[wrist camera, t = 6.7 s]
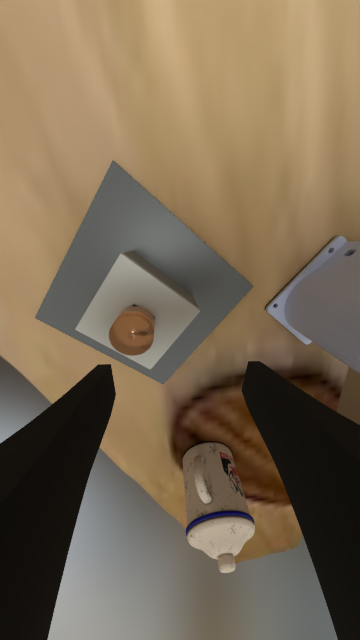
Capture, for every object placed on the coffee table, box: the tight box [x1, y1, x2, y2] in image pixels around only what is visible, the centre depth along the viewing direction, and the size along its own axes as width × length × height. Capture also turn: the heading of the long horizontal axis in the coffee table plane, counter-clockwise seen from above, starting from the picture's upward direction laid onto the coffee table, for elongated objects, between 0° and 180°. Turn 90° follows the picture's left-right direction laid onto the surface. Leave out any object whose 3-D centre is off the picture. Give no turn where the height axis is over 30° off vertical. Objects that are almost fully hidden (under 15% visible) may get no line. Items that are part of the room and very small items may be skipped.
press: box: [35, 161, 253, 384], centre depth 16 cm, size 16×16×5 cm
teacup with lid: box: [183, 442, 255, 573], centre depth 24 cm, size 12×9×12 cm
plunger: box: [109, 303, 155, 356], centre depth 14 cm, size 5×5×6 cm
